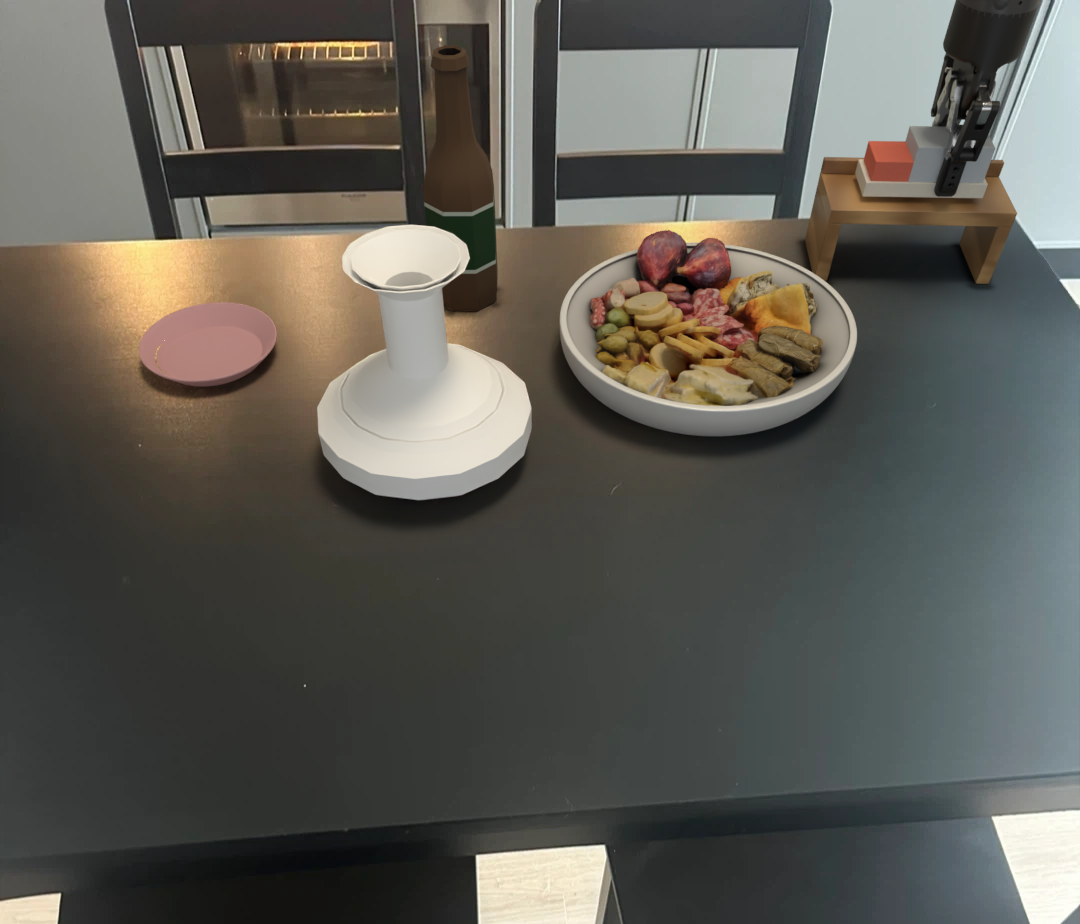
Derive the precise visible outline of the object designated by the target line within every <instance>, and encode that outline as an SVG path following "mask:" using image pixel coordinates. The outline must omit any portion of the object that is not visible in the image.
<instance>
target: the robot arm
mask: <svg viewBox="0 0 1080 924" xmlns="http://www.w3.org/2000/svg"><path fill="white" fill-rule="evenodd" d="M1040 2H1041V0H955V1H954V5H953V8H952V11H951V15H950V19H949V22H948V25H947V29H946V31H945V35H944V38H943V41H942V46H943V47H942V48H943V50H944V52H945V54H944V56H943V61H942V66H941V70H940V74H939V78H938V82H937V86H936V90H935V95H934V97H933V98H934V99H933V101H932V102H933V103H932V107H931V109H930V116H931V118H934V119H933V121H932V124H931V126H936V127H946V131H947V133H948V134H949V140H948V145H947V149H946V153H945V158H944V161H943V164H942V167H941V170H940V173H939V176H938V179H937V182H936V186H935V189H934V192H935V194H936V196H938V197H952V196H954V195H955V194H956V191H957V189H958V186H959V183H960V180H961V177H962V174H963V171H964V168H965V165H966V162H967V161H969V162H976V161H977V160H978V157H979V155H980V153H981V151H982V148H983V146H984V144H985V141H986V139H987V137H988V135H989V134H990V132H991V130H992V127H993V126H994V123H995V120H996V119H997V116H998V114H999V112H1000V110H1001V109H1000V108H1001V101H1000V100H993V98H994V95H995V90H996V85H997V81H996V78H997V72H998V70H1000V69H1001V68H1002V67H1003V66H1005V65H1008V64H1012V63H1013V62H1015V61H1016V60H1018V59H1019V57H1020V56H1021V54H1022V53H1023V49H1024V46H1025V45H1026V41H1027V38H1028V36H1029V33H1030V30H1031V28H1032V25H1033V22H1034V19H1035V16H1036V13H1037V11H1038V8H1039V5H1040ZM963 120H964V122H963V124H961V122H962V121H963ZM958 134H959V136H958ZM957 136H958V139H957ZM966 141H967V144H966V147H964V144H965V142H966Z"/></svg>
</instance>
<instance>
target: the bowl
mask: <svg viewBox="0 0 1080 924" xmlns="http://www.w3.org/2000/svg"><path fill="white" fill-rule="evenodd" d="M559 312H560V313H559V338H560V343H561V348H562V352H563V355H564V358H565V360H566V362H567V364H568V367H569V368H570V370H571V372H572V373H573V375H574V376H575V378H576V379H577V381H578V382H579V383H580V384H581V385H582V387H583V388H584V389H586V391H587V392H589V394H591V395H592V396H593V397H594V398H595V399H596V400H597V401H599V402H600V403H602V404H603V405H604V406H606V407H607V408H608V409H610V410H612V411H613V412H615V413H618V414H619V415H621V416H623V417H625V418H627V419H629V420H631V421H634V422H636V423H639V424H642V425H645V426H647V427H651V428H654V429H657V430H661V431H665V432H669V433H675V434H681V435H688V436H697V437H732V436H741V435H748V434H754V433H759V432H763V431H767V430H770V429H774V428H777V427H780V426H782V425H785V424H787V423H790V422H792V421H794V420H797V419H799V418H801V417H802V416H804V415H806V414H808V413H809V412H811V410H813V409H815V408H816V407H818V406H819V405H820V404H822V403H823V402H824V401H825V400H826V399H827V398H828V397H829V396H831V394H832V393H833V392H834V391H835V390H836V388H837V387H838V386H839V385H840V384H841V382H842V380H843V379H844V377H845V376H846V374H847V372H848V370H849V368H850V365H851V364H852V360H853V358H854V354H855V351H856V347H857V342H858V327H857V324H856V320H855V317H854V315H853V312H852V310H851V308H850V306H849V305H848V304H847V302H846V301H845V299H844V298H843V297H842V295H841V294H840V293H839V292H838V291H837V290H836V289H835V288H834V287H833V286H832V285H830V284H829V283H828V282H827V281H824V280H823V279H821V278H820V277H818V276H817V275H815V274H814V273H812V270H811V271H810V270H809V269H808V268H805V267H803V266H802V265H799V264H797V263H795V262H793V261H791V260H788V259H786V258H783V257H780V256H778V255H775V254H771V253H769V252H765V251H762V250H757V249H754V248H748V247H745V246H739V245H732V244H725V243H724V242H723V241H722V240H720V239H718V238H715V237H707V238H704V239H702V240H700V242H686V240H685V239H684V238H683V237H682V235H680V234H678V233H677V232H675V231H672V230H670V229H668V230H667V229H665V230H664V229H663V230H660V231H656V232H653V233H651V234H649V235H647V236H645V237H644V238H643V240H642V241H641V244H640V246H639V247H638V248H637V249H632V250H630V251H626V252H623V253H621V254H618V255H615V256H613V257H611V258H608V259H606V260H603V261H602V262H600V263H599V264H597V265H595V266H594V267H592V268H590V269H589V270H588V271H586V272H585V273H583V275H581V276H580V277H579V278H578V279H577V280H576V281H575V282H574V283H573V284H572V286H571V287H570V288H569V289H568V291H567V293H566V295H565V297H564V298H563V301H562V303H561V306H560V310H559Z"/></svg>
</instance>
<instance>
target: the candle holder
mask: <svg viewBox="0 0 1080 924" xmlns="http://www.w3.org/2000/svg"><path fill="white" fill-rule="evenodd" d="M469 259H470V257H469V252H468V248H467V245H466V244H465V243H464V242H463V241H461V240H460V239H459V238H458V237H457V236H455V235H454V234H452V233H450V232H447V231H444V230H442V229H439V228H436V227H432V226H426V225H421V224H420V225H418V224H401V225H391V226H390V225H389V226H383V227H381V228H379V229H376V230H373V231H369V232H366V233H364V234H363V235H361V236H359V237H358V238H356V239H355V240H354V241H352V242H350V243H349V244H348V245H347V247H346V249H345V250H344V252H343V254H342V255H341V261H342V263H341V265H342V271H343V272H344V273H345V274H346V275H347V276H348V277H349V278H350V279H351V280H352V281H353V282H354V283H355V284H358V285H359V286H362V287H364V288H366V289H368V290H371V291H372V292H374V293H376V294H377V297H378V304H379V309H380V316H381V323H382V330H383V336H384V342H385V348H384V349H381V350H379V351H376V352H374V353H372V354H369V355H368V356H366V357H365V358H363V359H361V360H360V361H358V362H356V363H355V364H353V366H351V367H349V368H348V369H347V370H345V371H344V372H343V373H341V374H340V375H338V377H336V378H333V380H332V381H330V382H329V384H328V386H327V388H326V390H325V392H324V394H323V395H322V397H321V399H320V401H319V403H318V405H317V407H316V411H317V431H318V432H317V433H318V438H319V442H320V447H321V450H322V454H323V456H324V457H325V458H326V460H327V461H328V462H329V463H330V464H331V466H332V467H333V468H334V469H335V470H336V471H337V473H338V474H339V475H340V476H341V477H342V479H345V480H346V481H348V482H349V483H352V484H353V485H356V486H358V487H360V488H362V489H363V490H365V491H367V492H369V493H371V494H373V495H375V496H382V497H390V498H398V499H407V500H415V501H426V500H435V499H444V498H451V497H459V496H463V495H465V494H467V493H469V492H472V491H474V490H476V489H478V488H480V487H483V486H485V485H488V484H489V483H492V482H494V481H496V480H498V479H500V478H501V477H502V476H503V475H505V473H506V472H507V471H508V470H509V469H511V468H512V467H513V466H514V465H515V464H516V463H518V461H520V459H522V458H523V457H524V456H525V454H526V449H527V446H528V442H529V439H530V436H531V433H532V431H533V430H532V429H533V428H532V427H533V423H532V422H533V421H532V416H533V415H532V404H531V400H530V398H529V393H528V389H527V386H526V382H525V381H523V379H522V378H521V377H520V376H518V375H517V374H516V373H515V372H513V371H512V370H511V369H510V368H509V367H508V366H507V365H506V364H505V363H504V362H502V361H499V360H497V359H494V358H493V357H490V356H487V355H485V354H483V353H480V352H478V351H475V350H473V349H471V348H469V347H466V346H463V345H461V344H457V343H448V338H447V328H446V317H445V316H446V315H445V306H444V305H443V294H442V288H443V287H444V286H445V285H447V284H448V283H449V282H451V281H452V280H453V279H455V278H456V277H457V276H459V275H460V274H461V273H463V272H464V271H465V268H466V266H467V264H468V261H469Z"/></svg>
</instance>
